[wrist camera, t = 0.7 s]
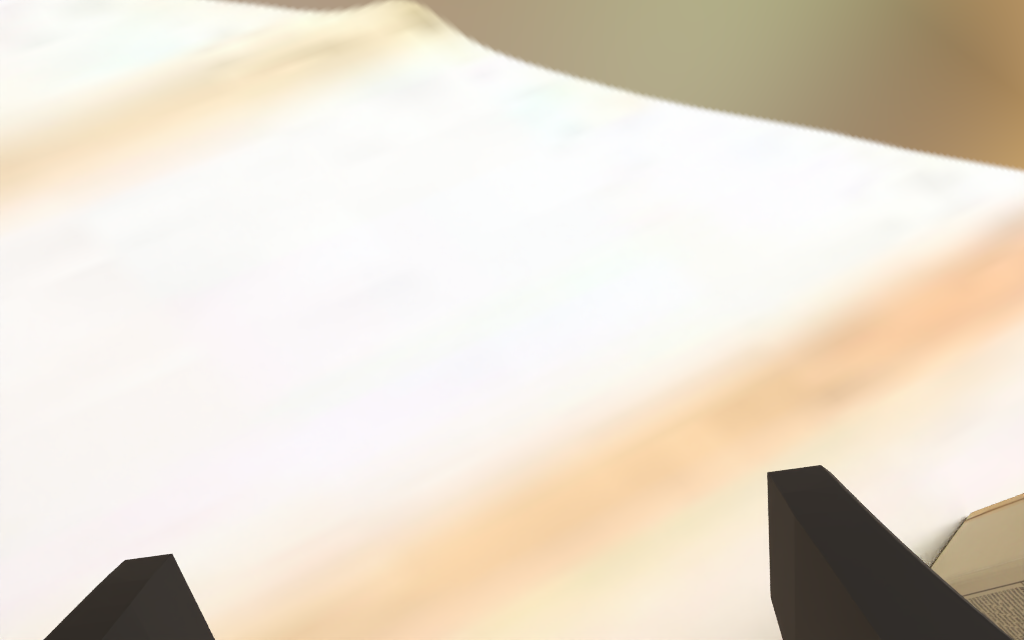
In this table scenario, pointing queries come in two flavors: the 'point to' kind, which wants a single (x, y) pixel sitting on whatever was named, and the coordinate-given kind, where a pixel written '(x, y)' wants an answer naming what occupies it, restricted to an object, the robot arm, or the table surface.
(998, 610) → the skincare box
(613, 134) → the table surface
